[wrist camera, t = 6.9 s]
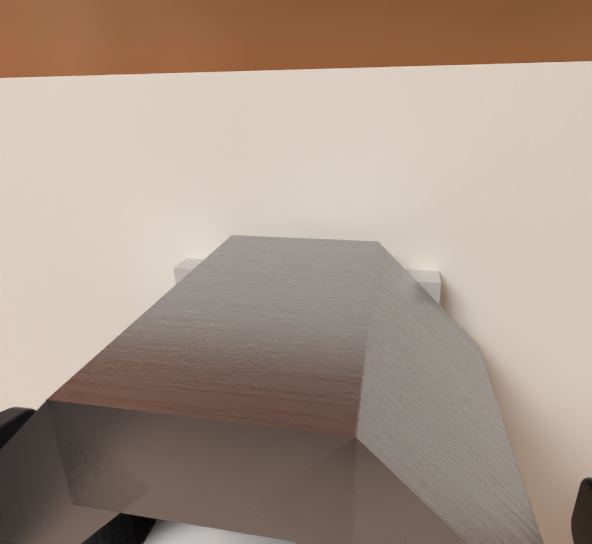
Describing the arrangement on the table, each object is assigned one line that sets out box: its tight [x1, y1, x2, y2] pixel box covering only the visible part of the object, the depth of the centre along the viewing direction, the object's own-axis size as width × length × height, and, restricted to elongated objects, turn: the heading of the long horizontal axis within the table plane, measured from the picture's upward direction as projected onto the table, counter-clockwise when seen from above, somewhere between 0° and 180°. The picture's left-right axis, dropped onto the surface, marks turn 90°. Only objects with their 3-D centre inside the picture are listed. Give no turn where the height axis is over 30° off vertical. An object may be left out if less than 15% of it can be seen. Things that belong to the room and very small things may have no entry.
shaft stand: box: [0, 61, 592, 544], centre depth 8 cm, size 18×12×7 cm, turn 91°
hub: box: [0, 235, 543, 544], centre depth 7 cm, size 6×6×5 cm
